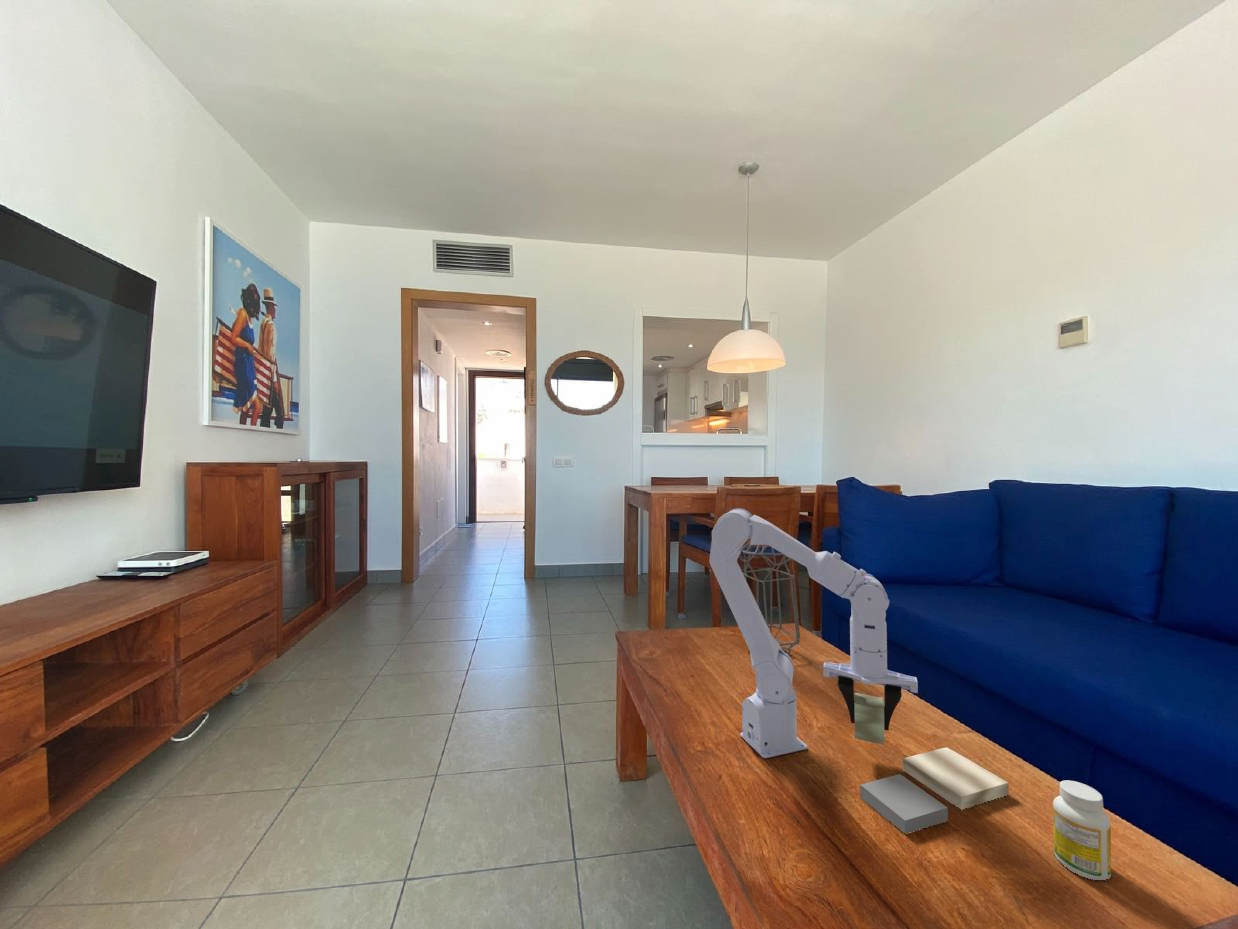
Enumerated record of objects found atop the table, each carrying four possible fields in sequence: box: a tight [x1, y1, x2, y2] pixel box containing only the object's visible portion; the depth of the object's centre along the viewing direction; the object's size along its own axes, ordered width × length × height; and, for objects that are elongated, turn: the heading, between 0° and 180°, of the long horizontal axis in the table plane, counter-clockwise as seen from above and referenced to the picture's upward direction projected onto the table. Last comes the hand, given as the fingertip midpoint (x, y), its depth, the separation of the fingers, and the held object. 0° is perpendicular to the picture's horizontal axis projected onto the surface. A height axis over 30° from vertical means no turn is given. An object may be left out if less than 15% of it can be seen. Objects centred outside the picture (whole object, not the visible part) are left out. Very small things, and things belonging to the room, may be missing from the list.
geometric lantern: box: [738, 539, 801, 657], centre depth 133 cm, size 16×16×35 cm
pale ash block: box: [902, 747, 1010, 811], centre depth 78 cm, size 10×10×2 cm
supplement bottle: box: [1052, 779, 1112, 881], centre depth 62 cm, size 5×5×10 cm
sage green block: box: [854, 692, 885, 746], centre depth 84 cm, size 4×4×6 cm
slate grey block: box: [859, 773, 949, 835], centre depth 72 cm, size 8×8×2 cm
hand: (869, 724), depth 84 cm, fingers closed on sage green block, 4 cm apart
